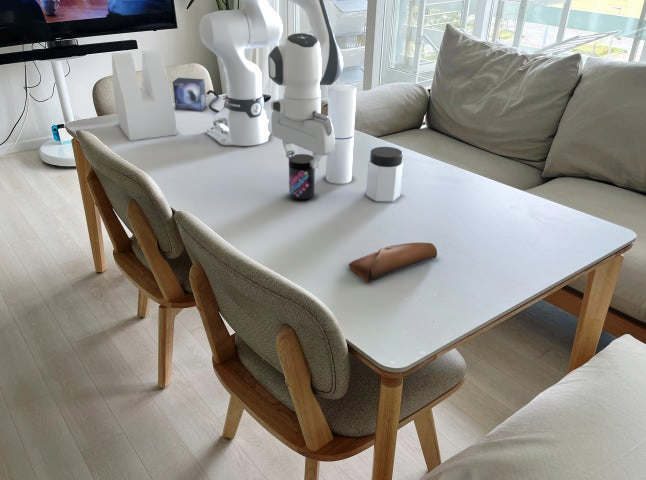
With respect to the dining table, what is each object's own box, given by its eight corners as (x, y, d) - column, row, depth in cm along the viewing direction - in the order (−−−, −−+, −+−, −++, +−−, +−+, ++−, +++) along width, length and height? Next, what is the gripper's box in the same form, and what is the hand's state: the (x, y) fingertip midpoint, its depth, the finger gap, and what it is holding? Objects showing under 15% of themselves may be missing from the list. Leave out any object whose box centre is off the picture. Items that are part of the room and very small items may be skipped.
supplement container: (284, 194, 155) (283, 156, 150) (306, 190, 158) (307, 152, 152) (296, 204, 150) (296, 165, 144) (319, 199, 153) (320, 160, 147)
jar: (398, 189, 158) (402, 146, 152) (402, 202, 151) (406, 157, 145) (364, 189, 158) (367, 146, 152) (367, 201, 152) (370, 157, 145)
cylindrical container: (349, 184, 161) (354, 91, 148) (323, 182, 162) (326, 89, 149) (352, 175, 167) (358, 85, 154) (328, 173, 168) (331, 83, 155)
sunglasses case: (410, 243, 131) (423, 225, 126) (427, 268, 129) (441, 251, 124) (345, 265, 123) (356, 247, 117) (362, 292, 120) (374, 276, 115)
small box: (174, 110, 221) (171, 81, 216) (180, 105, 227) (177, 77, 221) (201, 111, 220) (199, 82, 215) (207, 106, 226) (204, 78, 220)
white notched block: (118, 124, 206) (106, 48, 193) (162, 119, 211) (153, 45, 198) (130, 140, 191) (118, 59, 178) (176, 134, 197) (168, 55, 184)
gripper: (341, 114, 137) (339, 171, 144) (286, 97, 150) (286, 149, 157) (321, 119, 133) (320, 177, 140) (266, 101, 146) (268, 154, 154)
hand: (302, 162), depth 149 cm, fingers open, 8 cm apart
